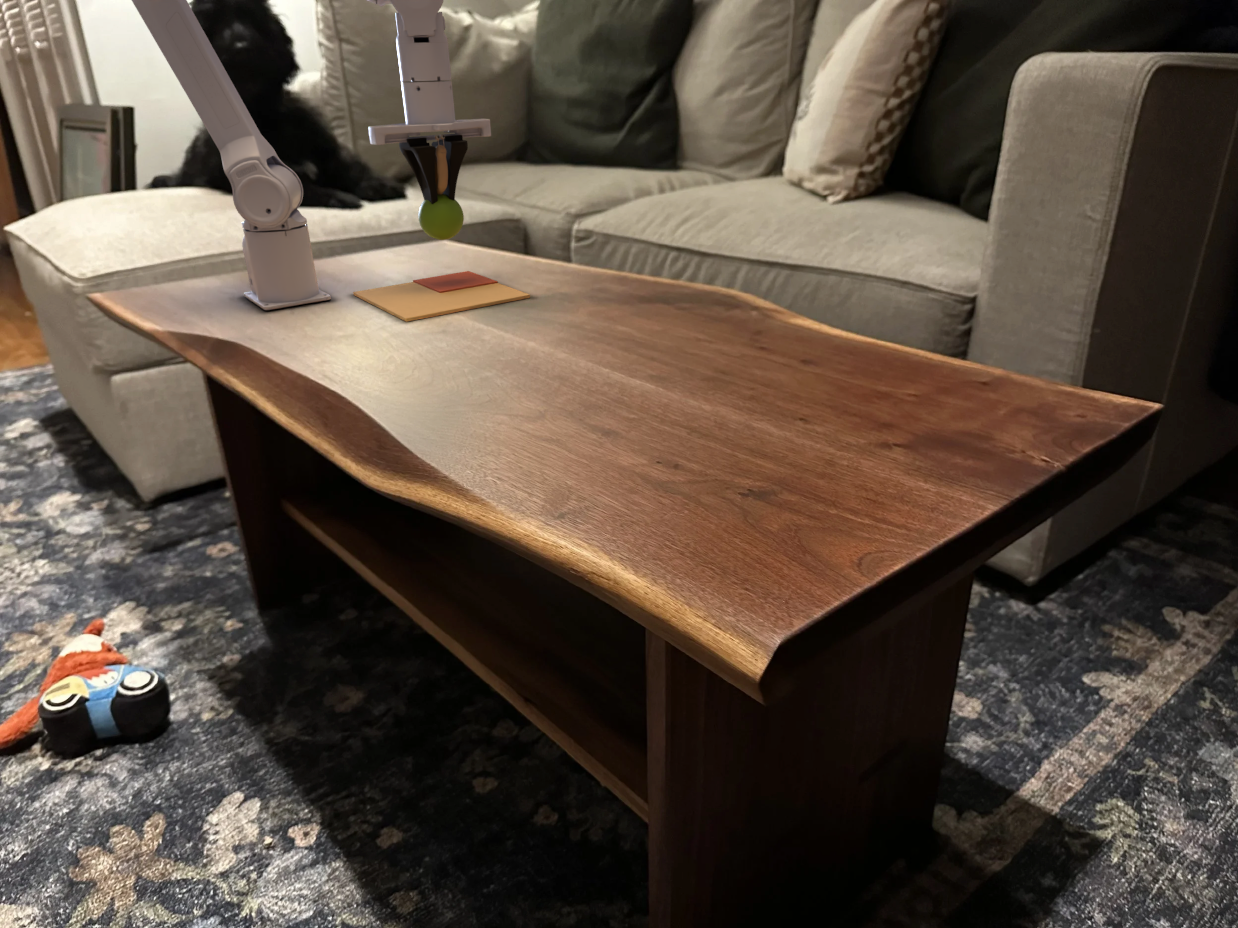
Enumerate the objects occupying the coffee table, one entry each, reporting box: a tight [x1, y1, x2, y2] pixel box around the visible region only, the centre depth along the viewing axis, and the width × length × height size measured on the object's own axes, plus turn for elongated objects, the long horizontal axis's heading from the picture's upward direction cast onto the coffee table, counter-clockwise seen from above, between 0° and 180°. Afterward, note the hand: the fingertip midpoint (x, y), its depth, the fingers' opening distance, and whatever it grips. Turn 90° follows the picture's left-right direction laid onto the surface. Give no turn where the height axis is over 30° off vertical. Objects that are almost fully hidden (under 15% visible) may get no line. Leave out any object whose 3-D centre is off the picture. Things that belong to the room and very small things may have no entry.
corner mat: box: [352, 270, 531, 322], centre depth 106 cm, size 16×16×1 cm
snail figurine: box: [417, 133, 465, 241], centre depth 105 cm, size 5×6×12 cm
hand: (439, 204), depth 105 cm, fingers closed on snail figurine
